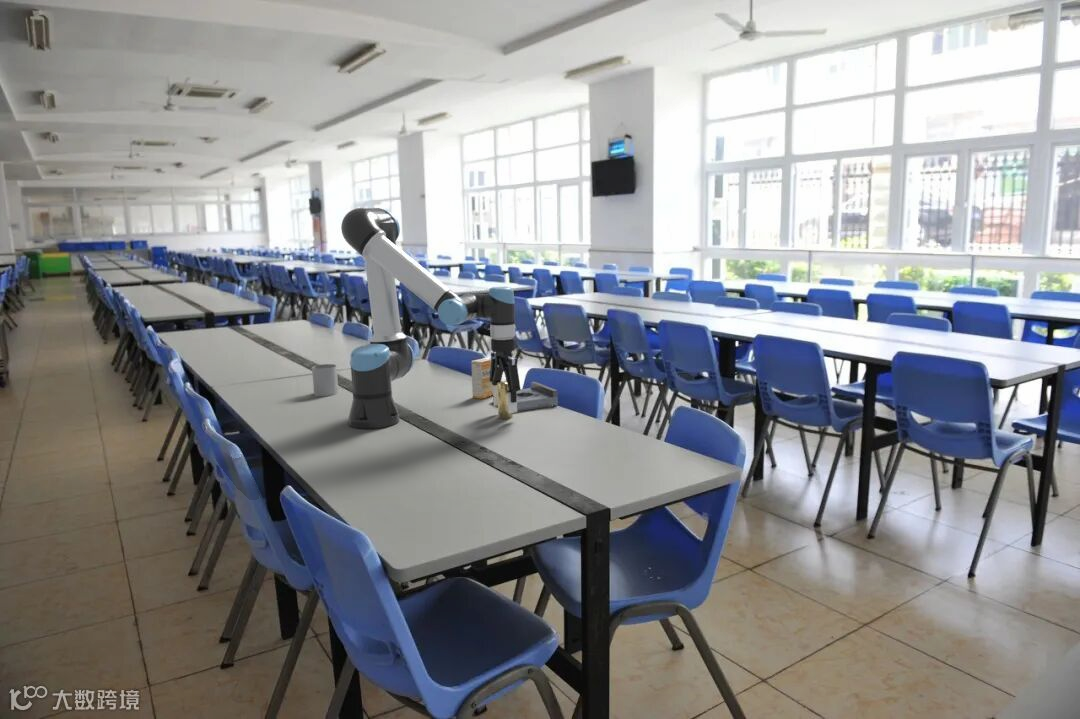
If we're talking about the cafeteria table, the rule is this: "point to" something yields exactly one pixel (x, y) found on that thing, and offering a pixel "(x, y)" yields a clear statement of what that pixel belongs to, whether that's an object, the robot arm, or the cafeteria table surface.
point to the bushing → (503, 400)
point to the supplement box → (481, 378)
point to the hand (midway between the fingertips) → (505, 408)
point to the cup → (325, 380)
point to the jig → (536, 397)
